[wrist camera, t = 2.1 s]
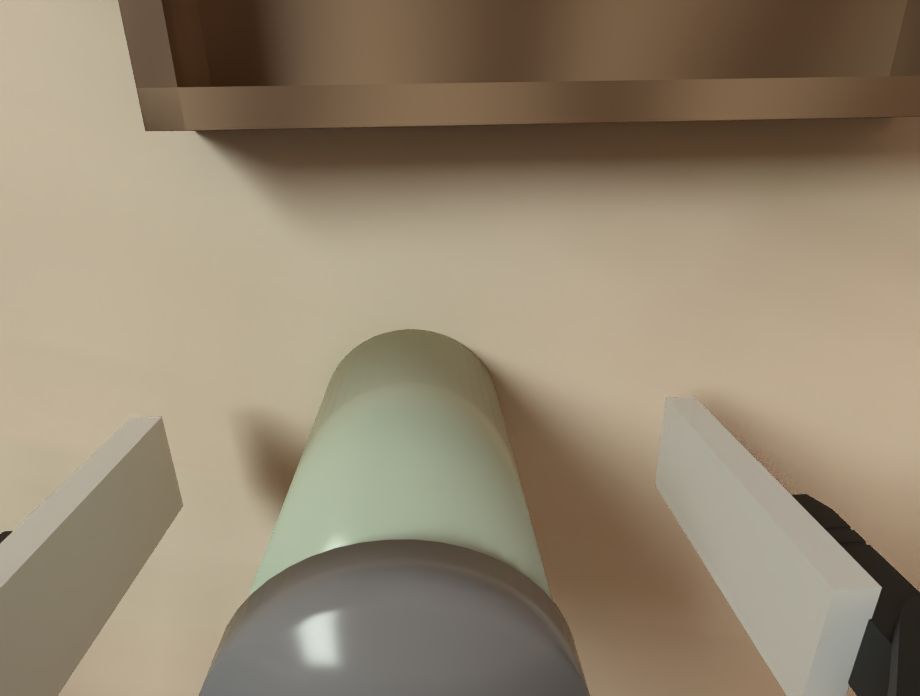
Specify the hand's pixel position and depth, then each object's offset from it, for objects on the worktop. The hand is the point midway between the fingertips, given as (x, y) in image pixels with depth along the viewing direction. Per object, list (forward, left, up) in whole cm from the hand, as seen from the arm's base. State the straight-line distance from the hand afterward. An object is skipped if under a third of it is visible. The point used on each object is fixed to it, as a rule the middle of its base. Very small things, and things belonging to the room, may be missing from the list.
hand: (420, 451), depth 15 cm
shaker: (0, 0, -2) cm, 2 cm away
